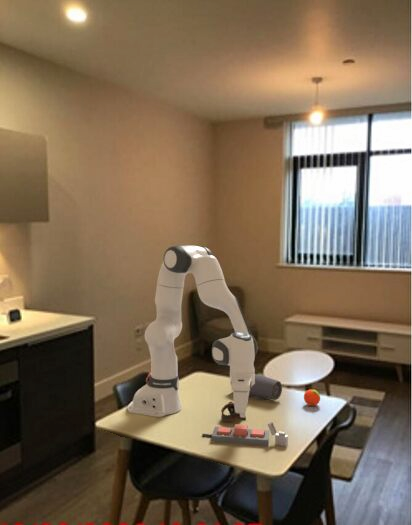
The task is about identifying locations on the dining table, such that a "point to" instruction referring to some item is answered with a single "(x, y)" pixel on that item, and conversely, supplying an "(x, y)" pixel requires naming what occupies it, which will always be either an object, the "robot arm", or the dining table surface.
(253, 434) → the button
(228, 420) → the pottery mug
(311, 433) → the dining table surface
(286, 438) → the lighter
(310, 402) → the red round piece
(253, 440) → the power strip
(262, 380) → the bluetooth speaker
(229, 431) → the button
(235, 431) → the button
